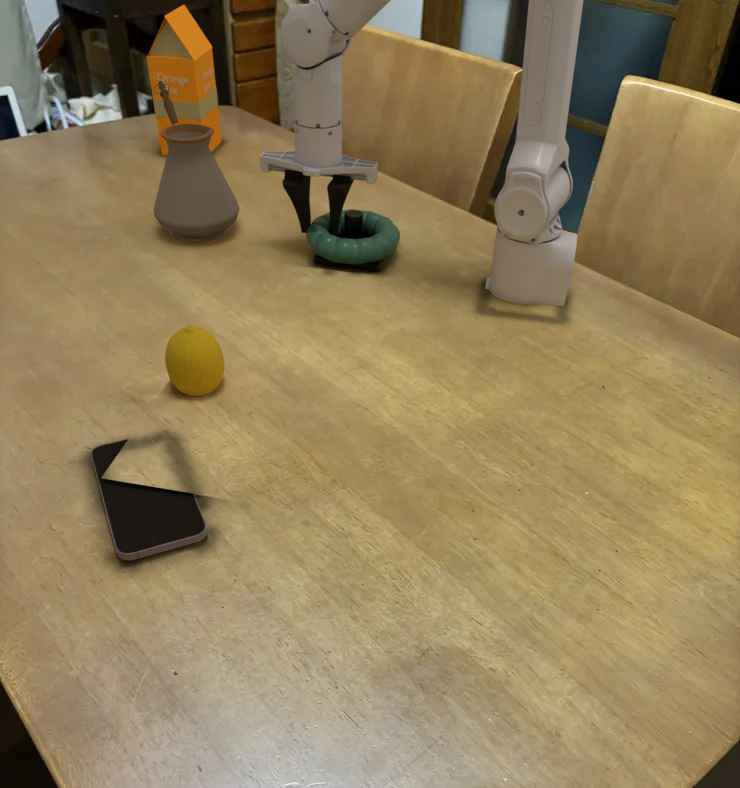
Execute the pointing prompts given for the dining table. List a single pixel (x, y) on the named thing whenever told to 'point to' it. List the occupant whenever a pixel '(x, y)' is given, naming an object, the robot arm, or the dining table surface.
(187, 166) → the coffee pot
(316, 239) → the hoop
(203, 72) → the orange juice
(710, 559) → the dining table surface
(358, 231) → the peg stand
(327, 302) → the dining table surface
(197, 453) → the dining table surface
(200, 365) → the lemon
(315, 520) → the dining table surface
